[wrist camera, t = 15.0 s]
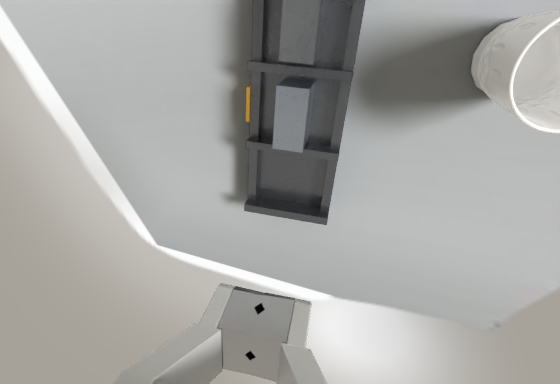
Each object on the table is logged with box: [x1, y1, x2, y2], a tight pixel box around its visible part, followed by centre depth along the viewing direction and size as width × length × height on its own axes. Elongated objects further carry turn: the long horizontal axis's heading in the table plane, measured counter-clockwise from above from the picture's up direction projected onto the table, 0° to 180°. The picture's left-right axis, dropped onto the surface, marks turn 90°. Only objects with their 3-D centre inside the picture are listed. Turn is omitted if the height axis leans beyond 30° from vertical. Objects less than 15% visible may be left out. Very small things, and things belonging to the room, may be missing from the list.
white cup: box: [471, 9, 560, 133], centre depth 25 cm, size 8×8×10 cm
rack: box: [244, 0, 365, 225], centre depth 32 cm, size 25×10×6 cm, turn 175°
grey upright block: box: [272, 78, 315, 153], centre depth 32 cm, size 6×3×5 cm, turn 176°
